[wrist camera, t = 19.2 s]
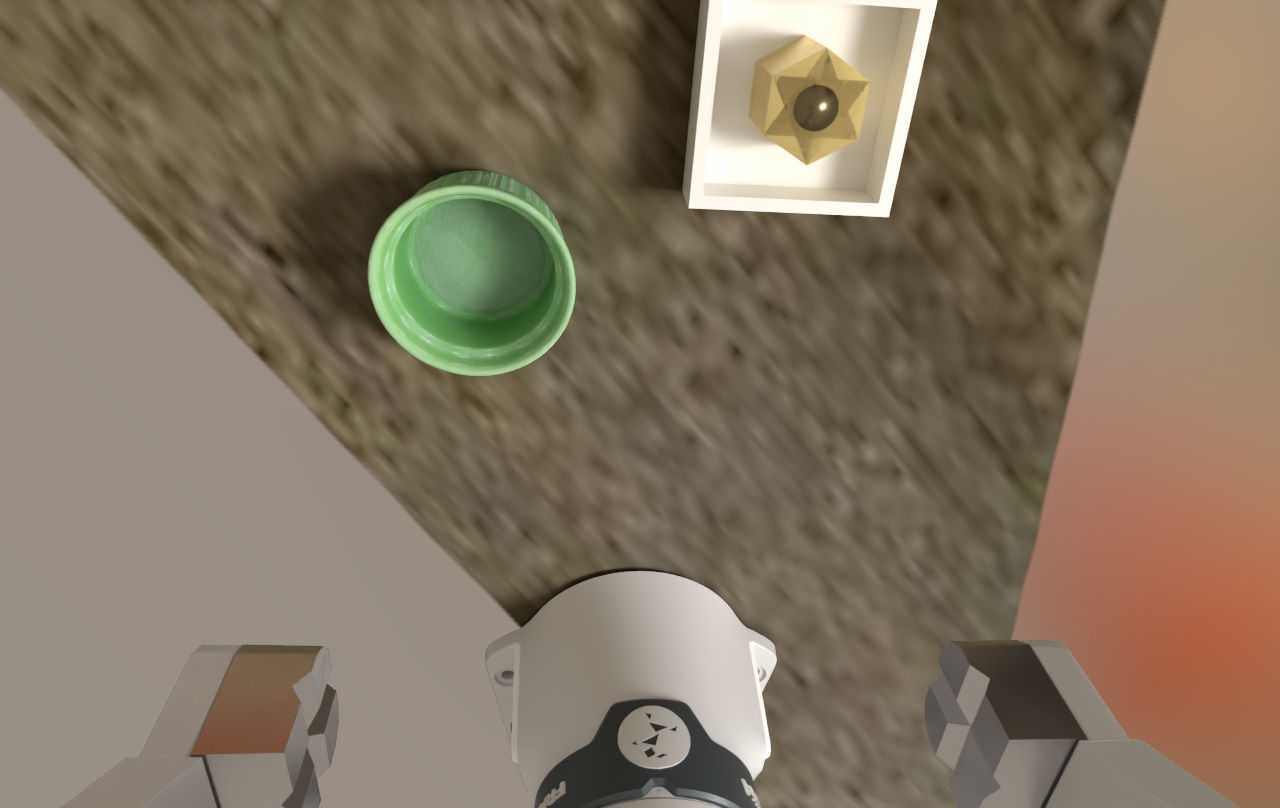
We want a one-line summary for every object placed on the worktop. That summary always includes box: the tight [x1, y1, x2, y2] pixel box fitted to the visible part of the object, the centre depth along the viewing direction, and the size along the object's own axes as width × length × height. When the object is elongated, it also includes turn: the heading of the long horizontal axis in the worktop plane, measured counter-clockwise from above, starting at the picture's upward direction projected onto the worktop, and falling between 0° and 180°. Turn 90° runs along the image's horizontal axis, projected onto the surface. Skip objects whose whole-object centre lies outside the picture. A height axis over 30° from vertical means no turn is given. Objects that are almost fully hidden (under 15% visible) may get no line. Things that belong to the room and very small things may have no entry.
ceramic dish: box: [682, 0, 937, 217], centre depth 37 cm, size 9×9×2 cm
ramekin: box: [368, 170, 576, 376], centre depth 39 cm, size 9×9×4 cm
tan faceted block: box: [748, 35, 870, 165], centre depth 36 cm, size 5×4×4 cm
